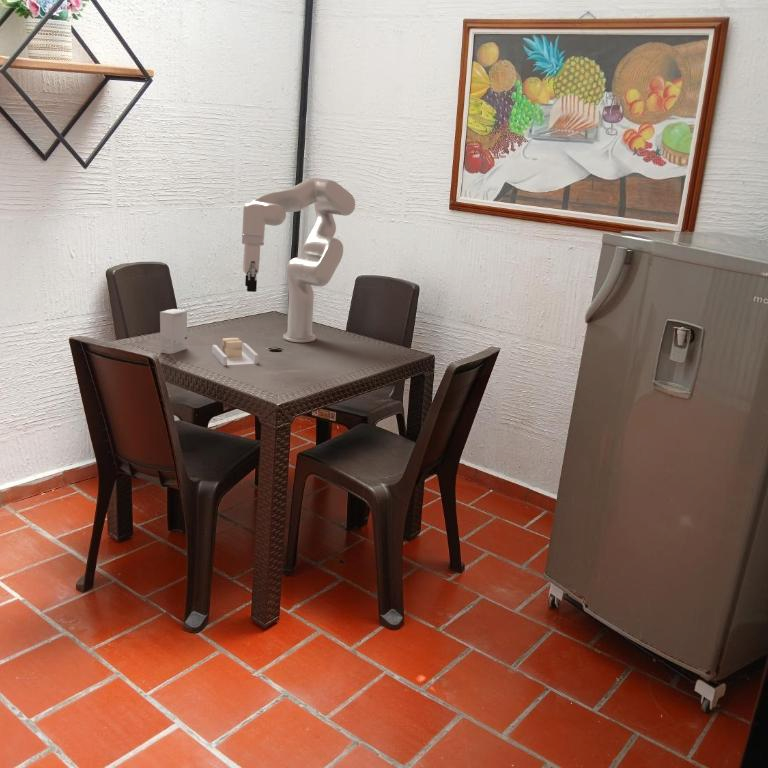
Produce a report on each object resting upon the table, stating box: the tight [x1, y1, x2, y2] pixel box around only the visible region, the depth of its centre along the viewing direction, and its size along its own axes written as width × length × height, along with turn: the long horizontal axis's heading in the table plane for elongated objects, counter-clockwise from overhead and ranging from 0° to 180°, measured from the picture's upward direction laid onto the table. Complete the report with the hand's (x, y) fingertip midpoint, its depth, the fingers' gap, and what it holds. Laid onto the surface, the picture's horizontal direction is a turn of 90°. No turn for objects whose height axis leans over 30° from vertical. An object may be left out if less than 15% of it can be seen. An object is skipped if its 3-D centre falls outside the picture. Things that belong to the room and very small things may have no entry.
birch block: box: [221, 337, 243, 358], centre depth 283 cm, size 6×6×6 cm
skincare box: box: [159, 308, 188, 356], centre depth 283 cm, size 8×6×15 cm
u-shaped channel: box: [212, 342, 259, 366], centre depth 280 cm, size 15×12×4 cm
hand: (250, 288), depth 283 cm, fingers open, 9 cm apart
